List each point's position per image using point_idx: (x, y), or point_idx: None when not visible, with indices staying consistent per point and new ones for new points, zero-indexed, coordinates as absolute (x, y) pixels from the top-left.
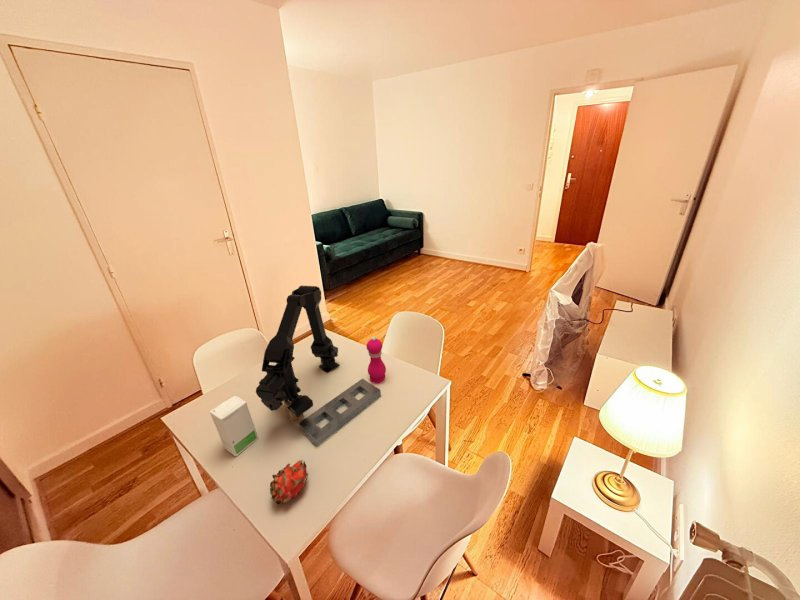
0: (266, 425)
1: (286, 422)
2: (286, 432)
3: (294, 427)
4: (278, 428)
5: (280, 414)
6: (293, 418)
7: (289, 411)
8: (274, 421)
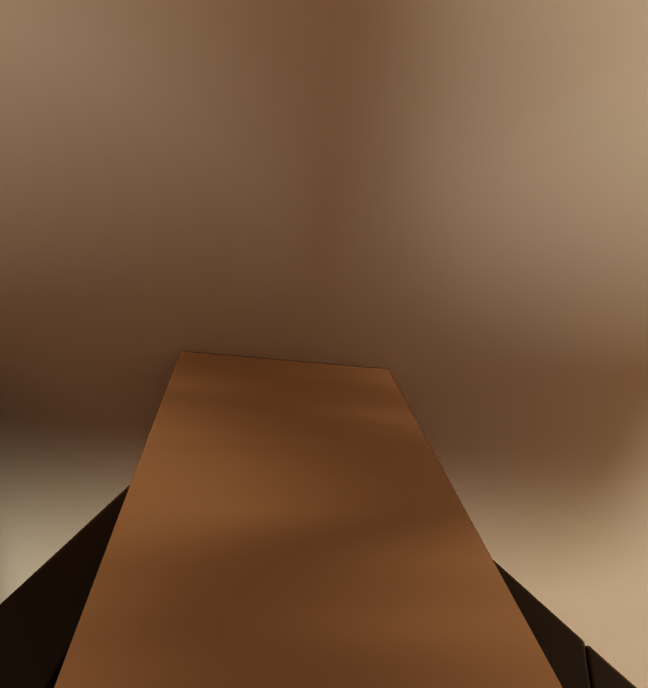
0: (636, 3)
1: (319, 289)
2: (86, 124)
3: (80, 301)
4: (335, 99)
5: (556, 337)
6: (156, 429)
7: (207, 585)
8: (548, 177)
